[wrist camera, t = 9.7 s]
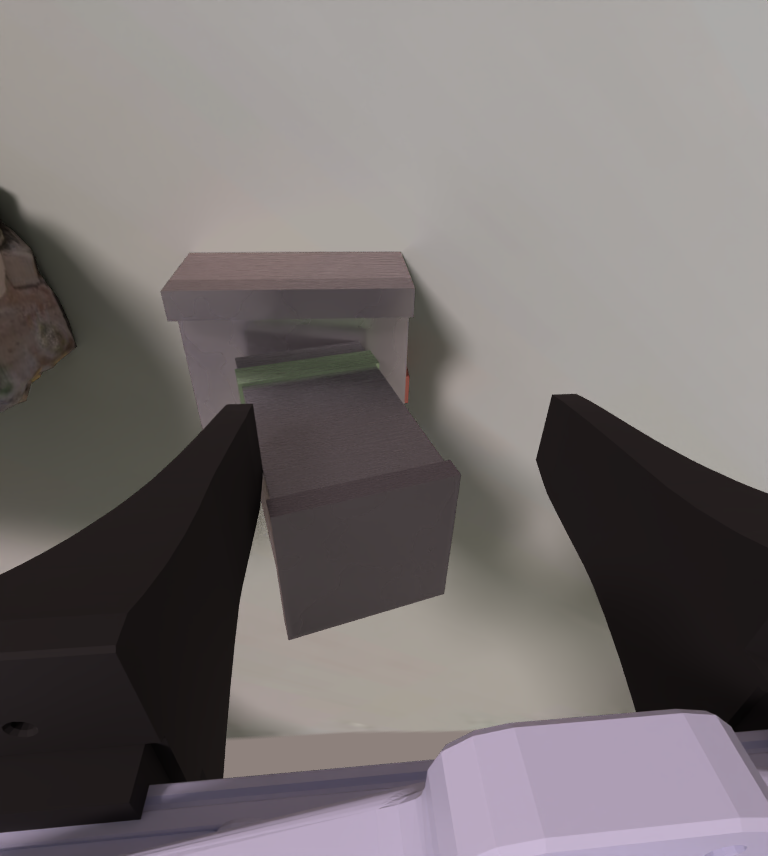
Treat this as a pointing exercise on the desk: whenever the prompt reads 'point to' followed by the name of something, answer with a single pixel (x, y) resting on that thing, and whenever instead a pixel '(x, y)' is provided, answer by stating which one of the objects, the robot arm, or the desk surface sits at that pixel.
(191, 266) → the stand block
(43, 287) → the fossil rock
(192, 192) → the desk surface
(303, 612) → the grey rectangular block
